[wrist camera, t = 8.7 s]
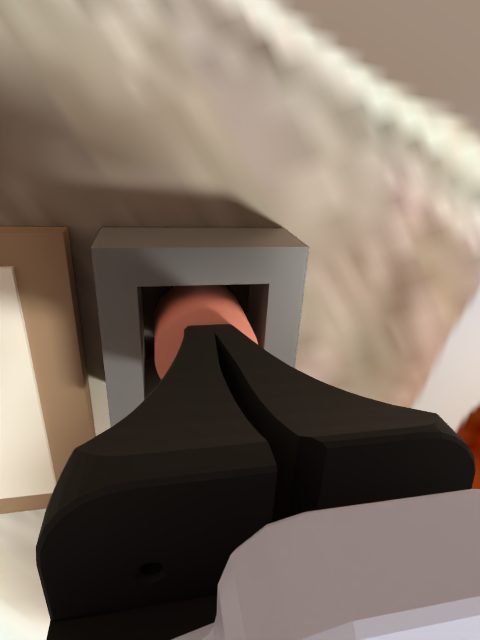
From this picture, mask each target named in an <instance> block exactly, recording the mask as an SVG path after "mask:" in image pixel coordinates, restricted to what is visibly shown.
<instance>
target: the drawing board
mask: <svg viewBox="0 0 480 640" xmlns="http://www.w3.org/2000/svg"><path fill="white" fill-rule="evenodd" d="M94 437H96V435H95V427H94V420H93V412H92V405H91V397H90V390H89V382H88V375H87V367H86V360H85V352H84V345H83V337H82V330H81V322H80V314H79V307H78V299H77V292H76V284H75V277H74V269H73V262H72V254H71V247H70V239H69V232H68V227H0V514H4V513H13V512H21V511H29V510H37V509H46V508H47V506H48V503H49V500H50V498H51V495H52V493H53V490H54V488H55V486H56V484H57V482H58V479H59V477H60V475H61V473H62V471H63V469H64V467H65V465H66V463H67V461H68V459H69V457H70V455H71V454H72V452H73V450H74V449H75V448H76V447H78V446H80V445H82V444H84V443H86V442H87V441H89V440H91V439H92V438H94Z"/></svg>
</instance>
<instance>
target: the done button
mask: <svg viewBox="0 0 480 640" xmlns="http://www.w3.org/2000/svg"><path fill="white" fill-rule="evenodd" d="M216 324H231V325H233V326H234V327H236V328H237V329H238V330H240V331H241V332H242V333H243V334H245V335H246V336H247V337H248V338H250V339H251V340H252V341H254V342H255V343H256V344H258V342H257V339H256V336H255V334H254V332H253V330H252V328H251V326H250V324H249V322H248V320H247V318H246V316H245V314H244V312H243V310H242V308H241V306H240V304H239V302H238V300H237V298H236V296H235V295H234V294H233V293H232V292H231V291H230V290H229V289H228V288H227V287H225V286H224V285H189V286H174V287H173V288H171V289H170V290H169V291H168V292H167V293H166V294H165V295H164V296H163V297H162V299H161V300H160V302H159V304H158V306H157V309H156V312H155V319H154V333H155V366H156V370H157V373H158V375H159V377H160V379H161V380H162V378H163V377H164V375H165V374H166V372H167V371H168V369H169V367H170V366H171V364H172V362H173V361H174V359H175V357H176V355H177V353H178V351H179V348H180V346H181V343H182V341H183V337H184V329H185V328H186V327H187V326H193V325H216Z"/></svg>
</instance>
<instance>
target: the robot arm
mask: <svg viewBox="0 0 480 640" xmlns="http://www.w3.org/2000/svg"><path fill="white" fill-rule="evenodd" d="M475 470H476V469H475V459H474V455H473V453H472V452H471V450H470V448H469V446H468V445H467V444H466V443H465V442H464V441H463V440H462V439H461V438H460V437H459V436H458V435H457V434H456V433H455V432H454V431H453V430H452V429H451V428H450V427H449V426H448V425H447V424H446V423H445V422H444V421H443V419H442V418H441V417H439V415H437V414H436V413H431V412H426V411H421V410H416V409H411V408H406V407H401V406H396V405H391V404H387V403H383V402H380V401H376V400H373V399H369V398H365V397H362V396H359V395H356V394H353V393H350V392H347V391H344V390H342V389H339V388H336V387H334V386H331V385H328V384H326V383H324V382H321V381H319V380H317V379H315V378H313V377H311V376H308V375H306V374H304V373H302V372H300V371H298V370H297V369H295V368H293V367H291V366H289V365H288V364H286V363H284V362H283V361H281V360H280V359H278V358H276V357H275V356H273V355H272V354H270V353H269V352H267V351H266V350H265V349H263V348H262V347H260V346H259V345H258V344H256V343H255V342H254V341H252V340H251V339H250V338H248V337H247V336H246V335H245V334H243V333H242V332H241V331H240V330H238V329H237V328H236V327H234V326H233V325H231V324H216V325H193V326H187V327H186V328H185V329H184V337H183V341H182V343H181V346H180V348H179V351H178V353H177V355H176V357H175V359H174V361H173V362H172V364H171V366H170V367H169V369H168V371H167V372H166V374H165V375H164V377H163V378H162V380H161V381H160V382H159V384H158V385H157V386H156V387H155V389H154V390H153V391H152V392H151V393H150V394H149V396H148V397H147V398H146V399H145V400H144V401H143V402H142V403H141V404H140V405H139V406H138V407H137V408H136V409H135V410H134V411H132V412H131V413H130V414H129V415H127V416H126V417H125V418H123V419H122V420H121V421H119V422H118V423H117V424H115V425H114V426H112V427H111V428H109V429H108V430H106V431H104V432H103V433H101V434H99V435H98V436H96V437H94V438H92V439H91V440H89V441H87V442H86V443H84V444H82V445H80V446H78V447H76V448H75V449H74V450H73V452H72V454H71V455H70V457H69V459H68V461H67V463H66V465H65V467H64V469H63V471H62V473H61V475H60V477H59V479H58V482H57V484H56V486H55V488H54V490H53V493H52V495H51V498H50V500H49V503H48V506H47V509H46V512H45V516H44V520H43V523H42V527H41V531H40V534H39V538H38V542H37V545H36V563H37V568H38V572H39V576H40V580H41V584H42V588H43V592H44V596H45V600H46V604H47V607H48V611H49V615H50V619H51V621H50V626H49V630H48V635H47V640H480V489H471V488H472V483H473V479H474V475H475Z"/></svg>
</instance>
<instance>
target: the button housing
mask: <svg viewBox="0 0 480 640" xmlns="http://www.w3.org/2000/svg"><path fill="white" fill-rule="evenodd" d="M308 253H309V246H307V245H306V244H305V243H303V242H302V241H301V240H299V239H298V238H297V237H296V236H294V235H293V234H292V233H290V232H289V231H288V230H286V229H285V228H198V227H101V229H100V231H99V233H98V235H97V237H96V239H95V241H94V243H93V245H92V247H91V254H92V263H93V272H94V281H95V290H96V299H97V308H98V317H99V326H100V335H101V344H102V353H103V362H104V371H105V380H106V389H107V398H108V406H109V415H110V424H111V427H112V426H114V425H115V424H117V423H118V422H119V421H121V420H122V419H123V418H125V417H126V416H127V415H129V414H130V413H131V412H132V411H134V410H135V409H136V408H137V407H138V406H139V405H140V404H141V403H142V402H143V401H144V400H145V399H146V398H147V397H148V396H149V394H150V393H151V392H152V391H153V390H154V389H155V387H156V386H157V385H158V384H159V382H160V381H161V379H160V377H159V375H158V373H157V370H156V366H155V359H145V343H144V326H143V310H142V293H141V287H146V286H189V285H232V284H250V287H249V304H248V322H249V324H250V326H251V328H252V330H253V332H254V334H255V336H256V339H257V342H258V345H259V346H260V347H262V348H263V349H265V350H266V351H267V352H269V353H270V354H272V355H273V356H275V357H276V358H278V359H280V360H281V361H283V362H284V363H286V364H288V365H289V366H291V367H293V368H295V360H296V352H297V344H298V336H299V327H300V319H301V311H302V302H303V294H304V286H305V278H306V269H307V261H308Z"/></svg>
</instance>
